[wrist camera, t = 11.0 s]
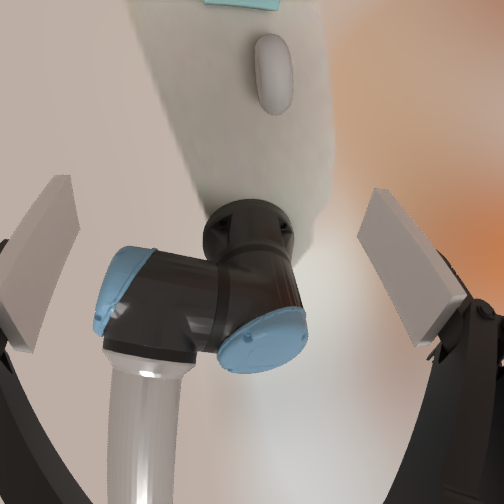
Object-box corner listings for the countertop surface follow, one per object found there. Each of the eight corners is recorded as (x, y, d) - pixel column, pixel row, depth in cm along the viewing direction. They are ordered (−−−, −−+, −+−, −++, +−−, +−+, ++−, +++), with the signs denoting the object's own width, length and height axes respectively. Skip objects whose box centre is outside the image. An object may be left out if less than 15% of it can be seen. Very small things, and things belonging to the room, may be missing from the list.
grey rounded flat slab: (249, 32, 33) (260, 37, 26) (277, 31, 33) (296, 36, 26) (255, 103, 40) (266, 128, 32) (281, 101, 40) (298, 126, 33)
